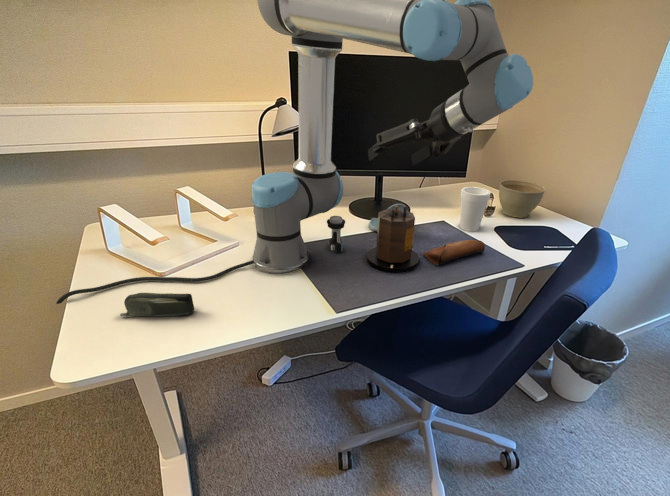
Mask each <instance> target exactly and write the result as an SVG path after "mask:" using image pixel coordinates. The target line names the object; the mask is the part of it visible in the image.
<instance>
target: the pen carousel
mask: <svg viewBox="0 0 670 496" xmlns="http://www.w3.org/2000/svg"><path fill="white" fill-rule="evenodd" d="M377 218H378V229H377V232H376V246H375V247H376V253H377V258H378V259H381V260H383V261H386V262H388V263H403V262H405V261H407V260H409V259H410V258H411V252H412V250H413V246H414V245H413V243H414V234H415V224H416V217H415V214H414V212H411V211H408V206H406V205H405V206H404V210H402V209H398V206H395V209H388V208H387V209H383V210H381V211H379V212H378V214H377Z"/></svg>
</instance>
